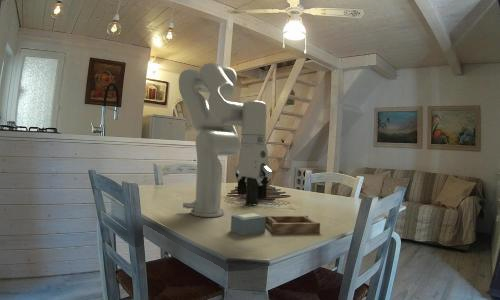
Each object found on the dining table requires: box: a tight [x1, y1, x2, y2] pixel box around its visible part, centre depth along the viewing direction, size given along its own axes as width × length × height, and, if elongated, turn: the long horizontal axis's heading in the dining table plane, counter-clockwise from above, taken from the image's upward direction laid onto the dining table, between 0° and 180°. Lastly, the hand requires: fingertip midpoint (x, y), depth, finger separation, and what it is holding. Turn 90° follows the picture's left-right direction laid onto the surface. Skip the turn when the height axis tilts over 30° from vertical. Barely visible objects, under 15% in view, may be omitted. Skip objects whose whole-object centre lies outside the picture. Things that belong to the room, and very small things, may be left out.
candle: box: [245, 178, 260, 205], centre depth 134 cm, size 5×5×25 cm
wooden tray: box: [265, 215, 321, 235], centre depth 98 cm, size 16×10×3 cm, turn 104°
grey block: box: [230, 212, 267, 237], centre depth 92 cm, size 9×6×5 cm, turn 129°
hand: (251, 196), depth 91 cm, fingers open, 9 cm apart
